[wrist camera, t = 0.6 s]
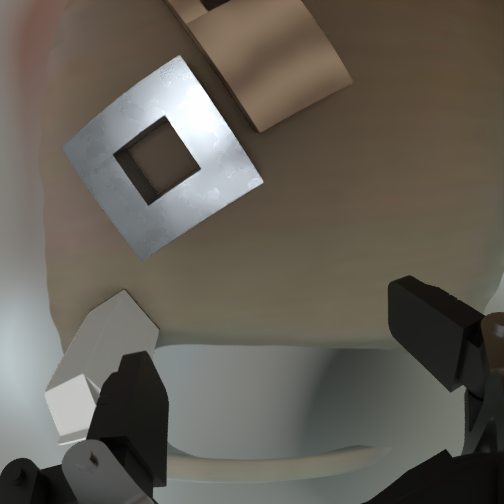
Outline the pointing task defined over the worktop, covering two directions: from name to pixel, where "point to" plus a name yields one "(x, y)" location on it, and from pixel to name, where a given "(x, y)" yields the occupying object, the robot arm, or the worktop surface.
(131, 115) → the holder
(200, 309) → the worktop surface
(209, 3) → the axle
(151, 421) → the robot arm
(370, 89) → the worktop surface
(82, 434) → the milk carton
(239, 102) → the wooden block with hole
